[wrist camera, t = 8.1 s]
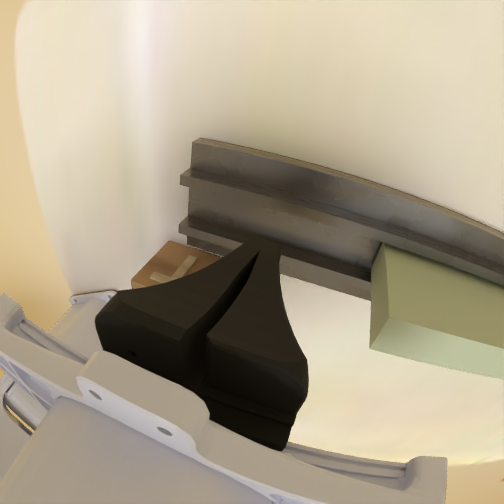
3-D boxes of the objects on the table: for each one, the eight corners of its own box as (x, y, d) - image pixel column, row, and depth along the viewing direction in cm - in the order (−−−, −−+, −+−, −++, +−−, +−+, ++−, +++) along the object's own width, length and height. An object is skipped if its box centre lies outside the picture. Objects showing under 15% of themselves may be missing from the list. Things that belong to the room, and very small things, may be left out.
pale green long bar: (371, 268, 17) (369, 348, 12) (383, 239, 16) (389, 317, 11) (532, 321, 15) (555, 387, 10) (547, 301, 13) (576, 366, 9)
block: (226, 309, 24) (200, 358, 20) (171, 289, 25) (138, 331, 21) (233, 258, 21) (202, 307, 17) (169, 238, 22) (129, 279, 18)
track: (193, 236, 21) (178, 253, 20) (200, 137, 17) (181, 147, 16) (514, 334, 17) (520, 354, 15) (562, 264, 13) (574, 282, 11)
